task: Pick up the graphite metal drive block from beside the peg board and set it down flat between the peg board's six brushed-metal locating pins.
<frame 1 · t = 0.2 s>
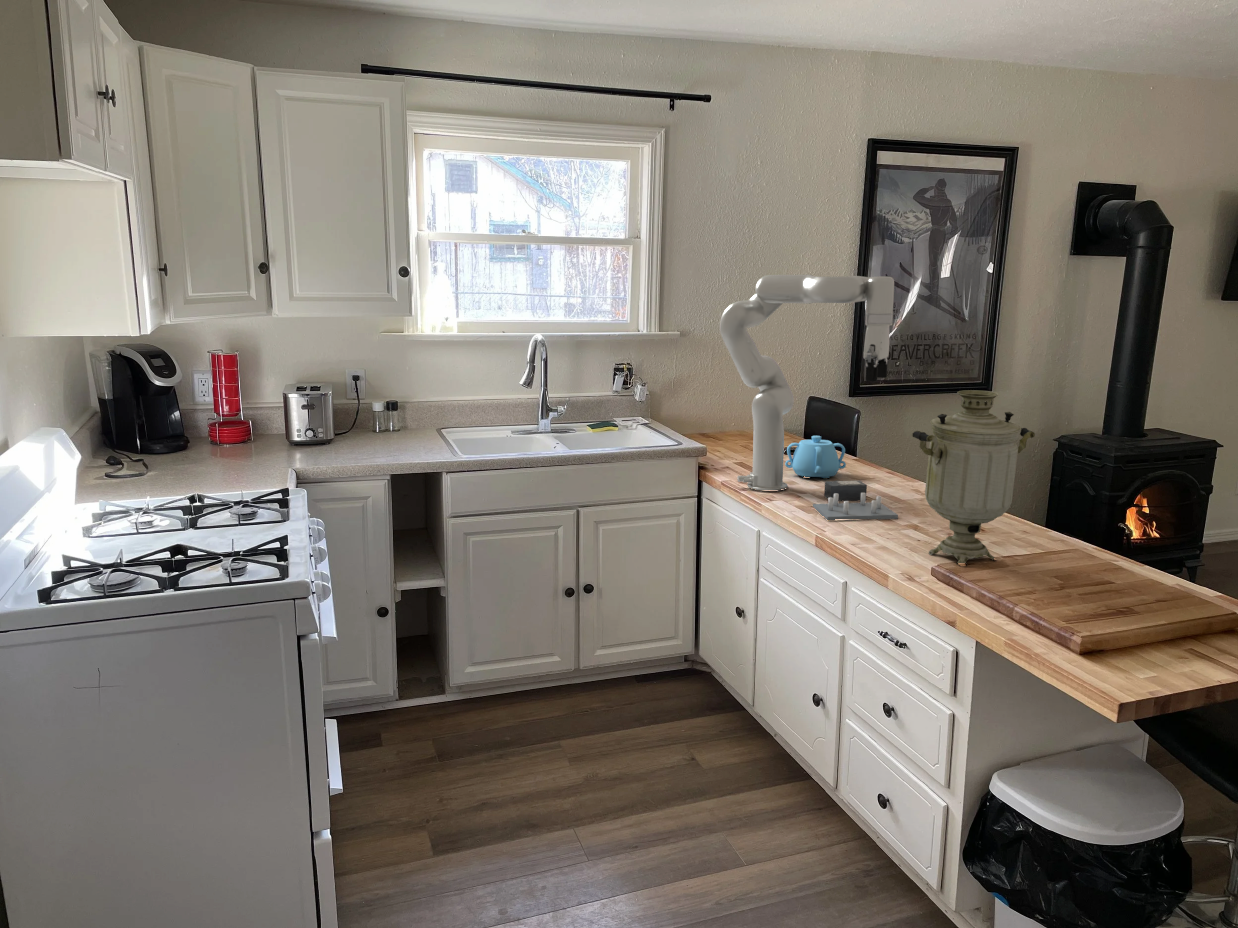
hand: (876, 379, 267), 36 cm above the countertop, tool pointing down, fingers open, 9 cm apart
drive: (844, 499, 277), on the countertop
samovar: (959, 554, 223), on the countertop
peg board: (854, 513, 260), on the countertop
decorative pot: (814, 476, 307), on the countertop
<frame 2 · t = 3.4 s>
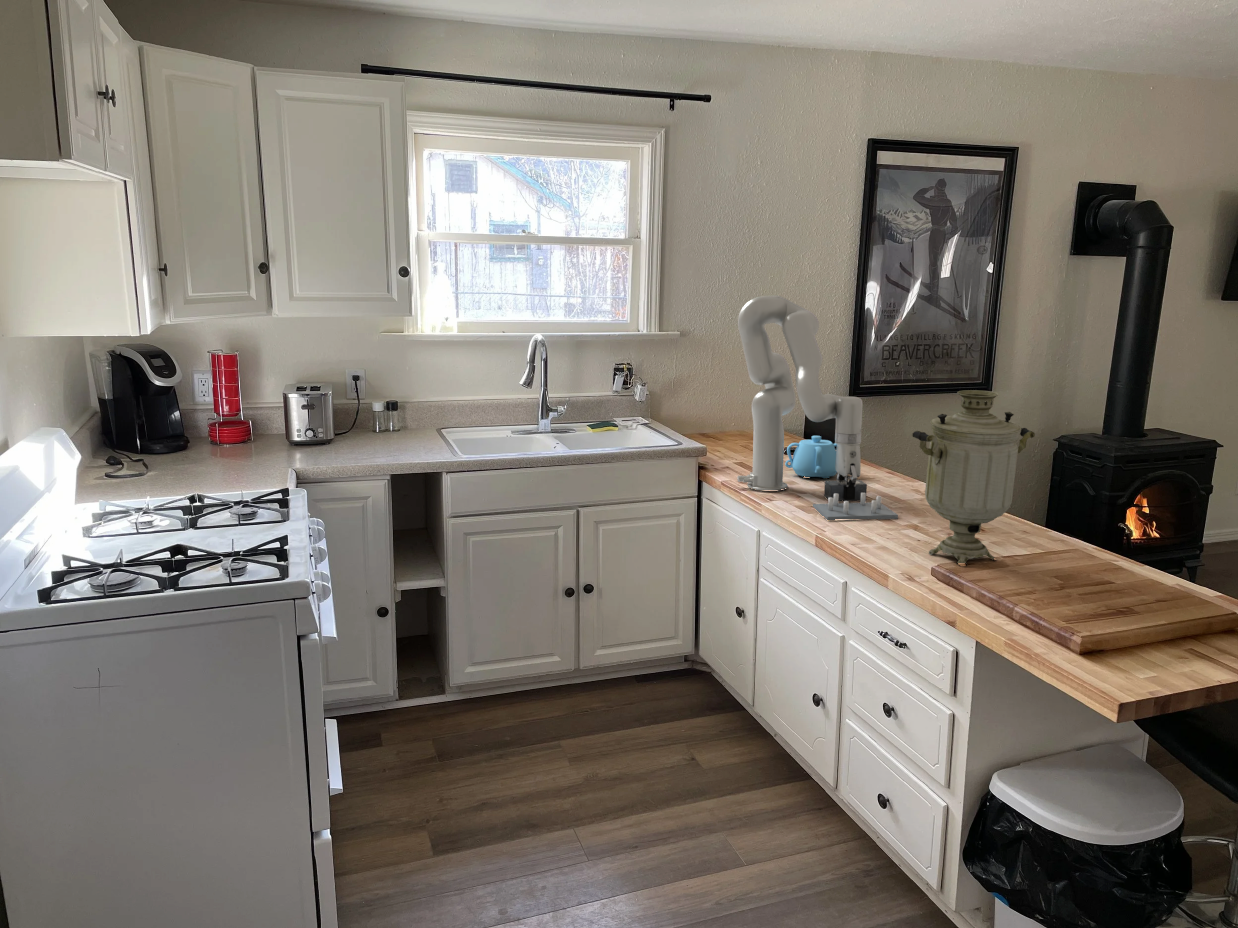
hand: (845, 496, 277), 1 cm above the countertop, tool pointing down, fingers closed on drive, 6 cm apart
drive: (844, 498, 277), on the countertop, touching gripper
everything else where it was.
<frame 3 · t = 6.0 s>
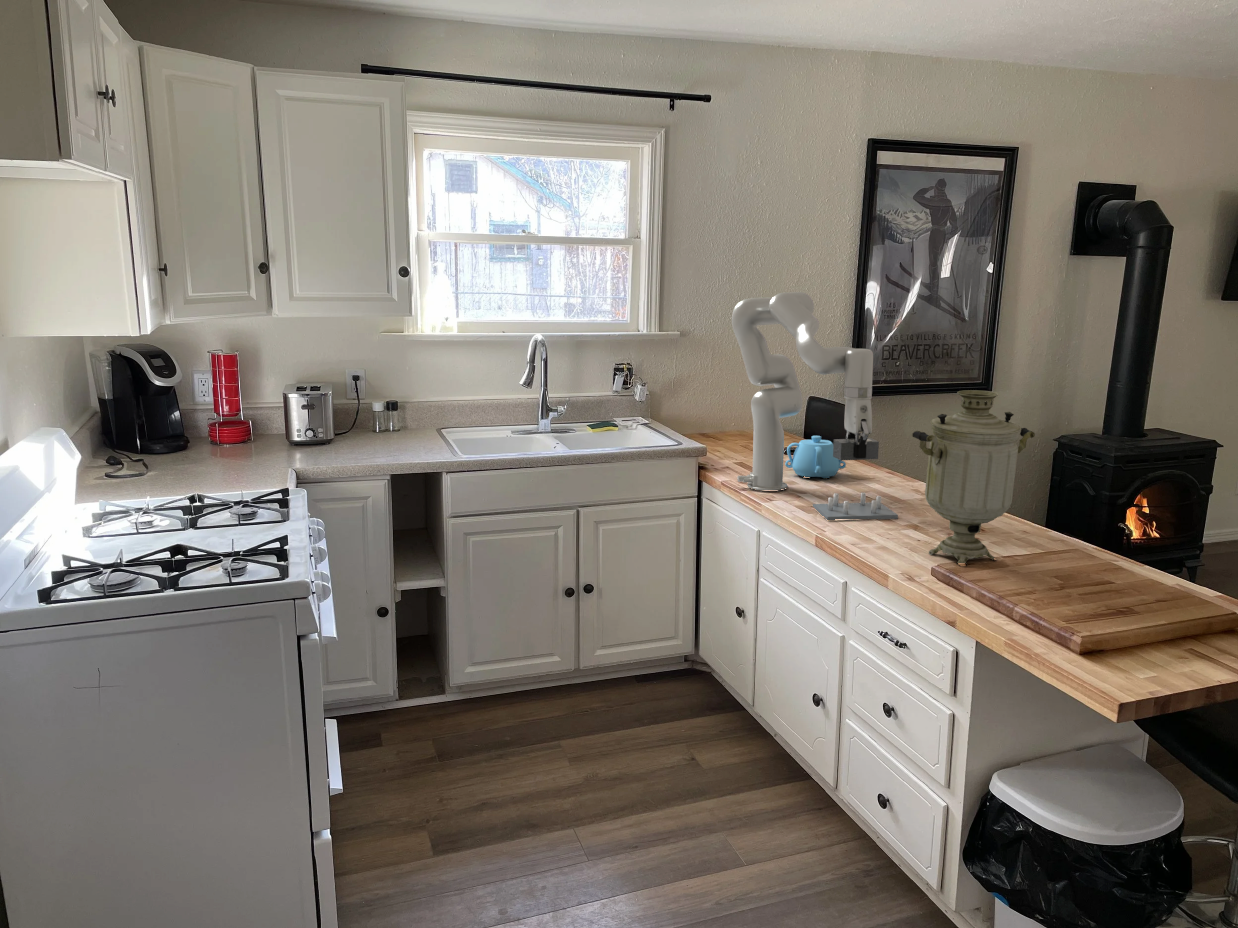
hand: (855, 455, 261), 16 cm above the countertop, tool pointing down, fingers closed on drive, 6 cm apart
drive: (855, 457, 261), point 15 cm above the countertop, touching gripper
everything else where it was.
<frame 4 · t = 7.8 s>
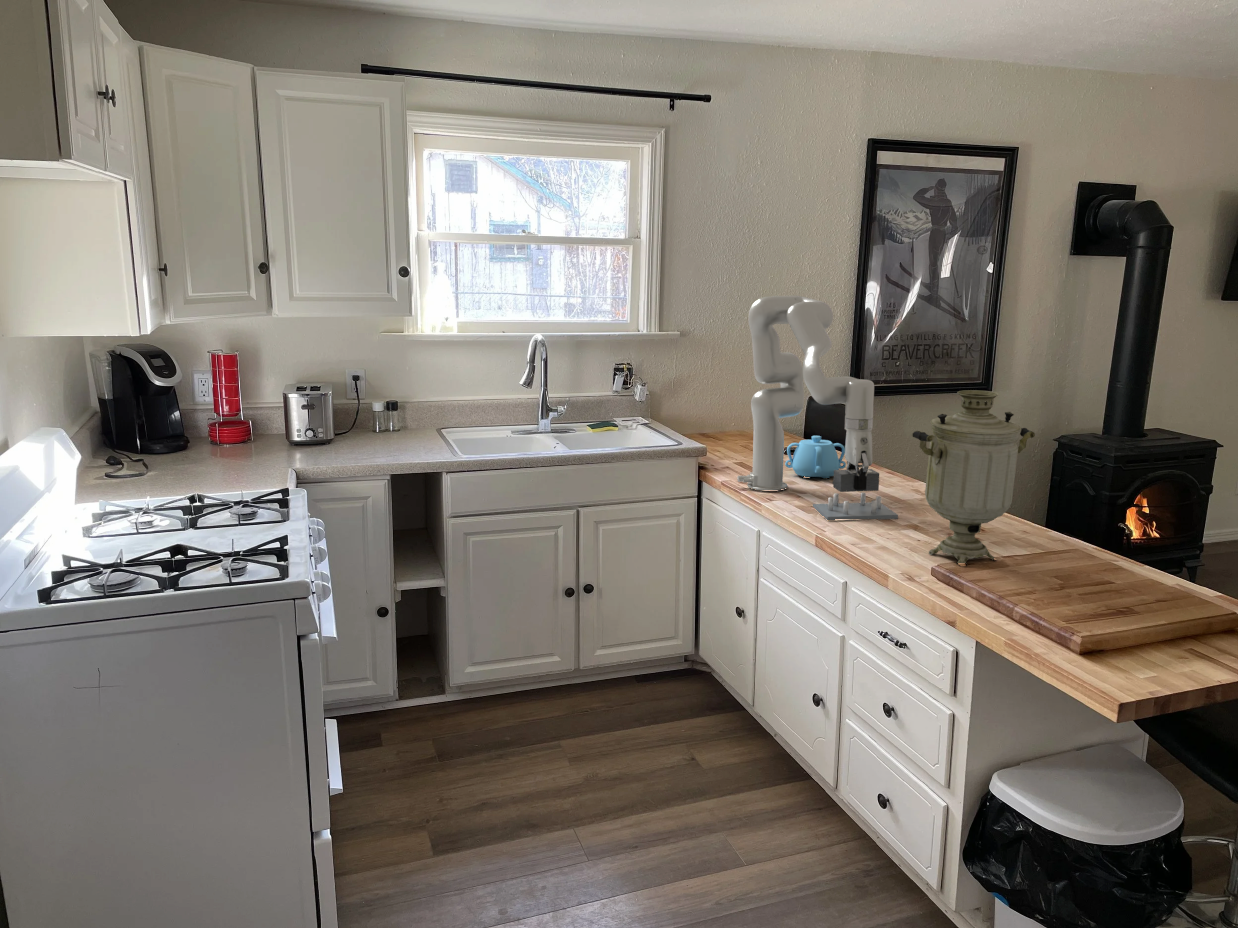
hand: (856, 486, 258), 8 cm above the countertop, tool pointing down, fingers closed on drive, 6 cm apart
drive: (855, 488, 258), point 7 cm above the countertop, touching gripper
everything else where it was.
when the fingers open (3 cm above the countertop, at t = 9.1 s): drive drops 2 cm, resting on peg board.
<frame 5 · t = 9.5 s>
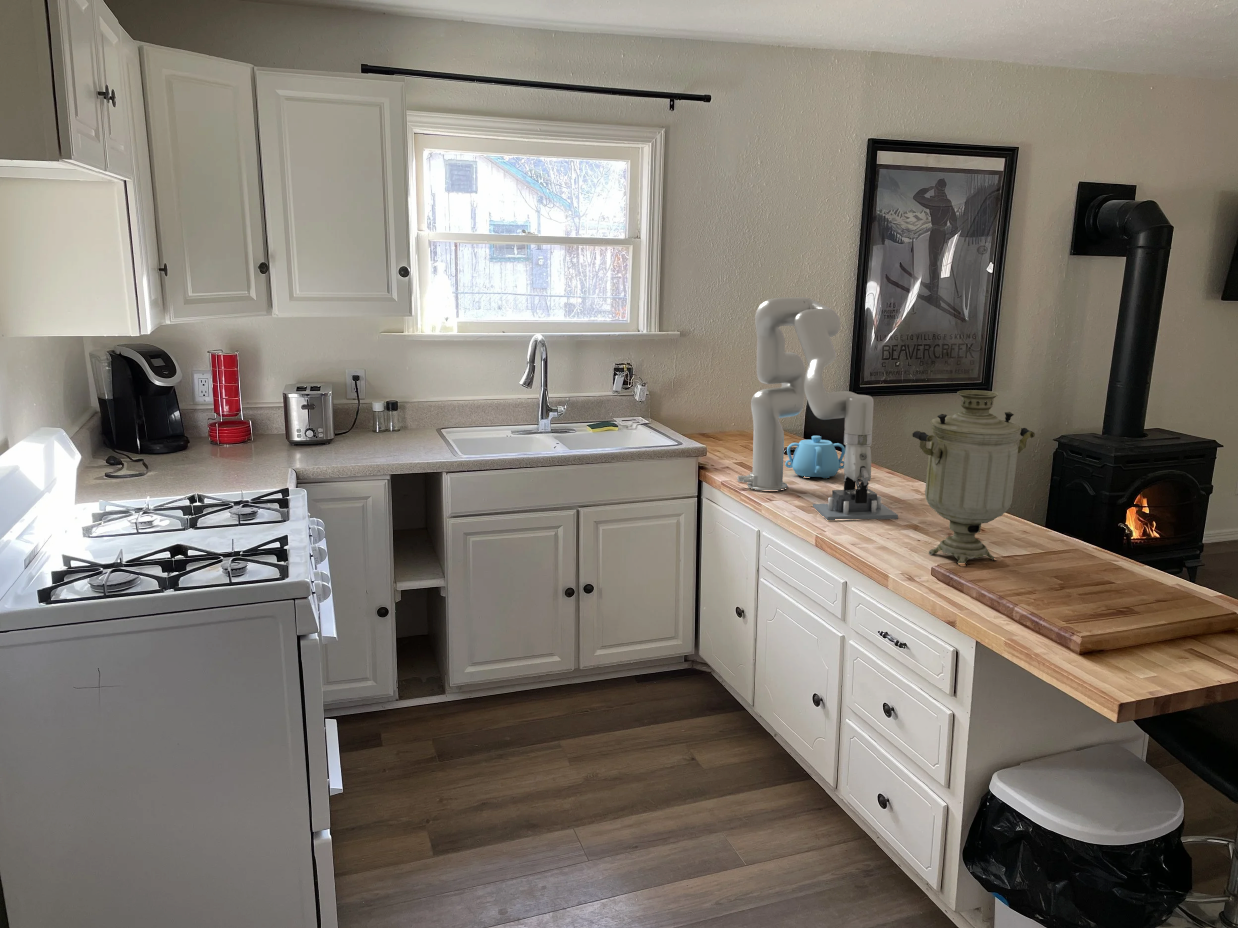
hand: (854, 498, 259), 4 cm above the countertop, tool pointing down, fingers open, 9 cm apart
drive: (853, 509, 260), point 1 cm above the countertop, touching peg board
everything else where it was.
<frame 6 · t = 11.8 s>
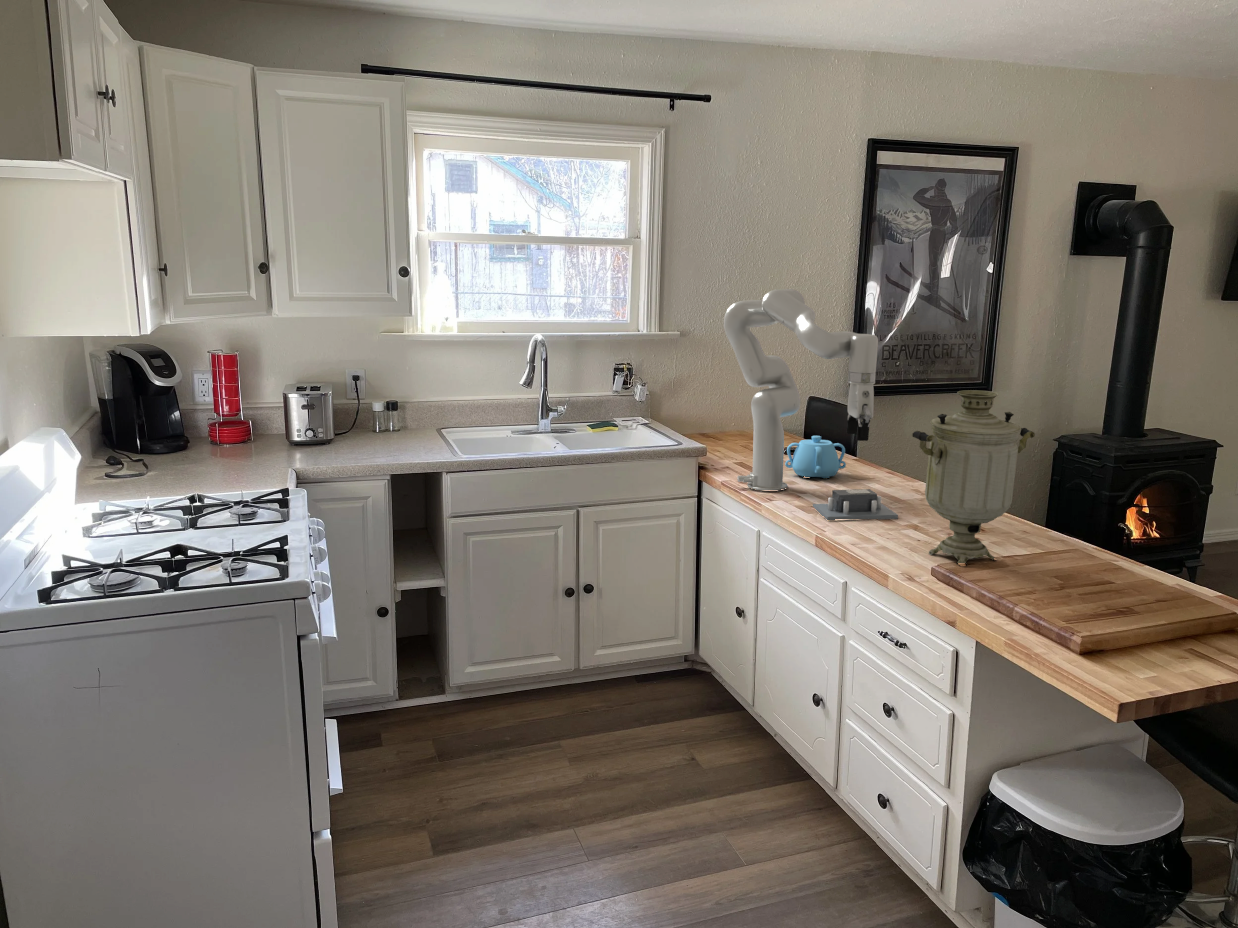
hand: (857, 437, 264), 21 cm above the countertop, tool pointing down, fingers open, 9 cm apart
nothing on the countertop moved.
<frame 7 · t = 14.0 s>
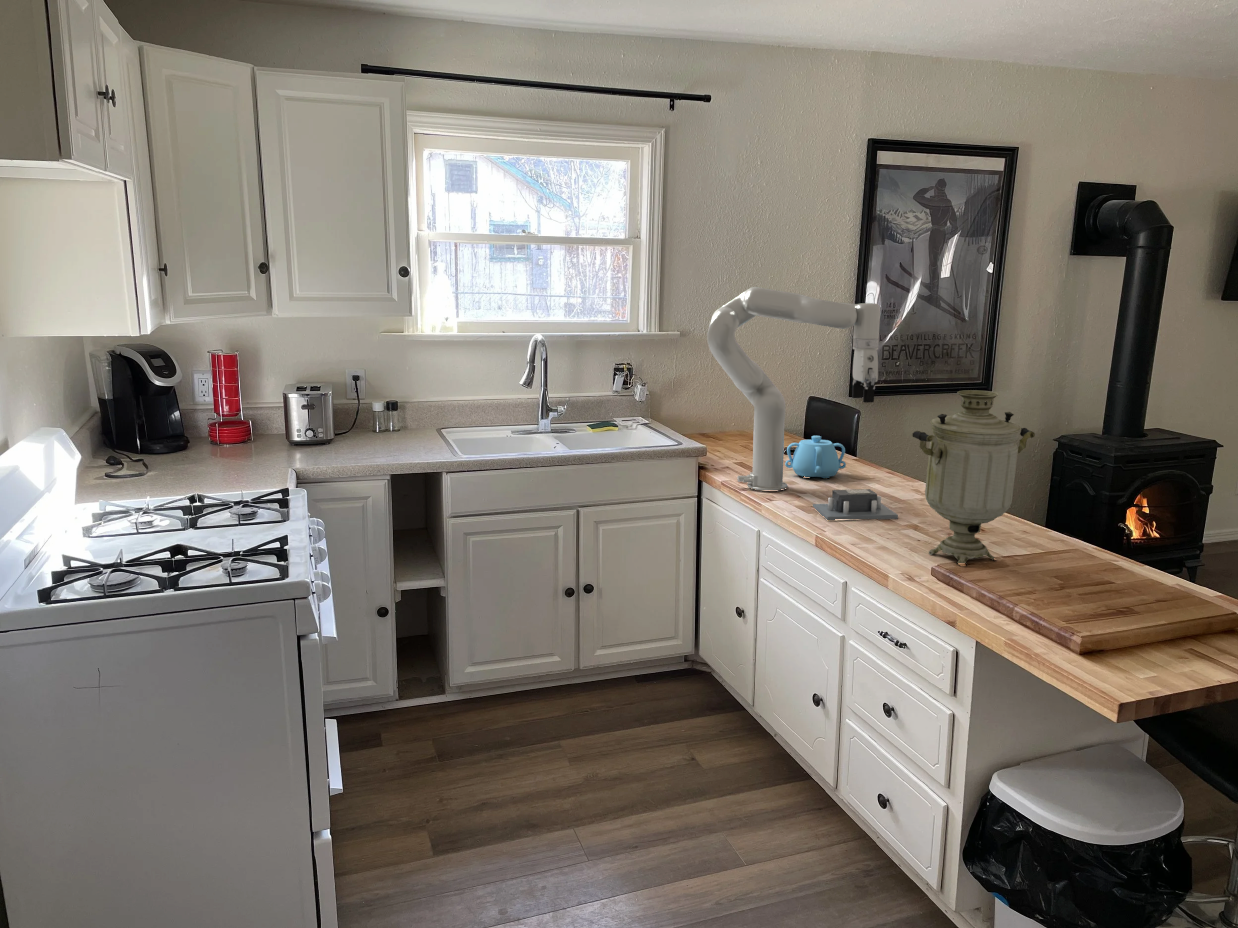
hand: (862, 400, 282), 28 cm above the countertop, tool pointing down, fingers open, 9 cm apart
nothing on the countertop moved.
at the end: drive 0.1 cm off-centre on the peg board, point 1.2 cm above the peg board's base; drive tilted 0°; the gripper is holding nothing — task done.
